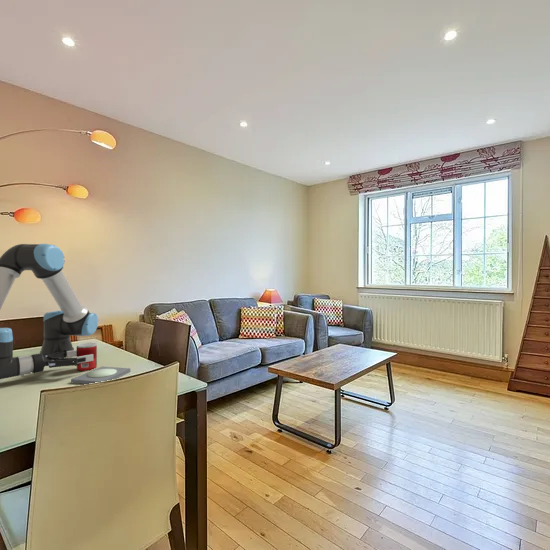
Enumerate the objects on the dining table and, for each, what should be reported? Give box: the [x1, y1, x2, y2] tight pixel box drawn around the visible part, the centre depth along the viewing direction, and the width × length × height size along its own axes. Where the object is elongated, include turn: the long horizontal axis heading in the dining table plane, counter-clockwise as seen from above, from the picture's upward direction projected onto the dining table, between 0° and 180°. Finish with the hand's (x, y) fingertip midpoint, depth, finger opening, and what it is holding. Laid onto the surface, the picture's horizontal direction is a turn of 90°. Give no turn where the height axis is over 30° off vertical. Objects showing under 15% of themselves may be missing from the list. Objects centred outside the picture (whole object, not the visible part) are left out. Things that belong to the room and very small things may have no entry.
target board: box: [70, 365, 131, 385], centre depth 142 cm, size 18×14×2 cm
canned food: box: [76, 342, 98, 372], centre depth 154 cm, size 8×8×11 cm
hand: (87, 354), depth 154 cm, fingers open, 13 cm apart
